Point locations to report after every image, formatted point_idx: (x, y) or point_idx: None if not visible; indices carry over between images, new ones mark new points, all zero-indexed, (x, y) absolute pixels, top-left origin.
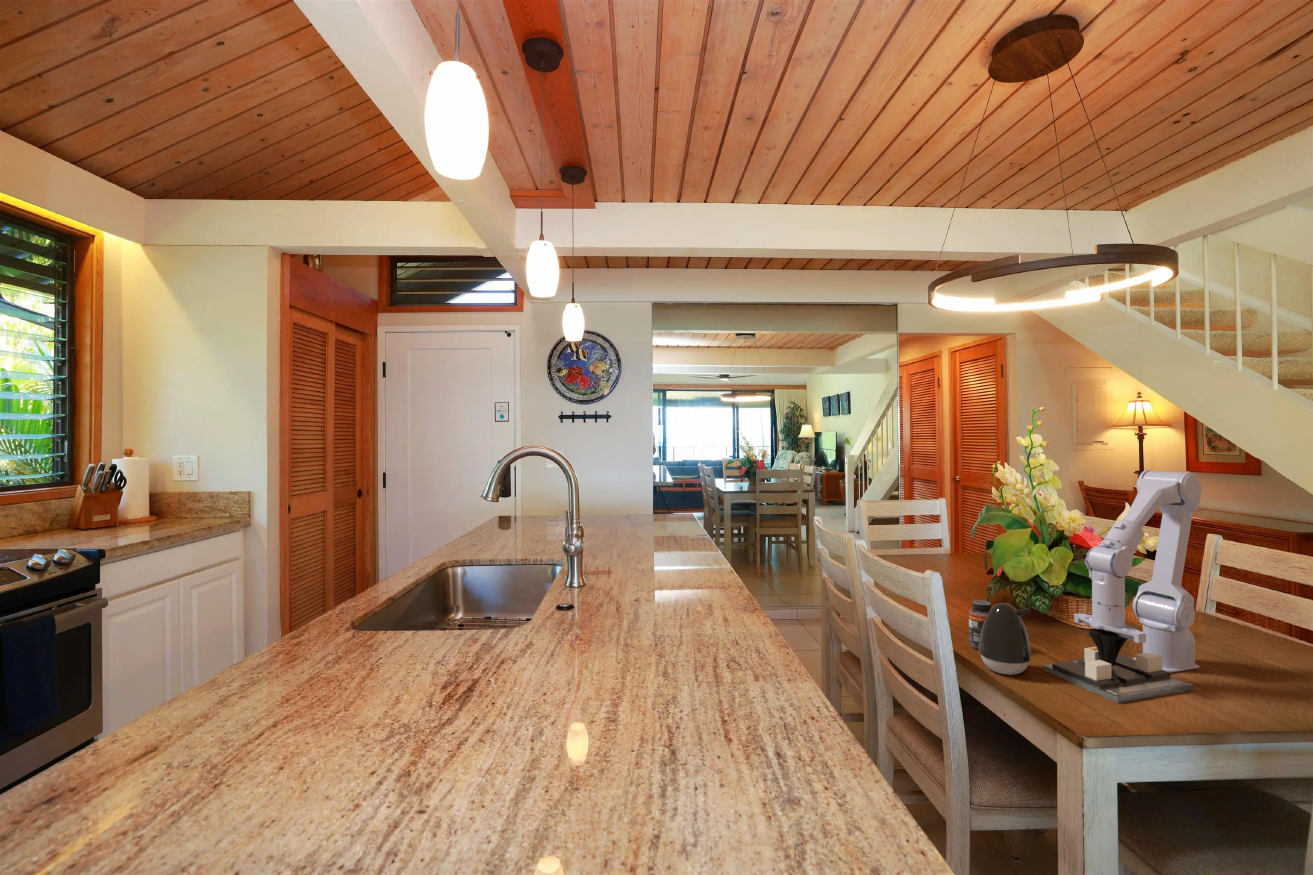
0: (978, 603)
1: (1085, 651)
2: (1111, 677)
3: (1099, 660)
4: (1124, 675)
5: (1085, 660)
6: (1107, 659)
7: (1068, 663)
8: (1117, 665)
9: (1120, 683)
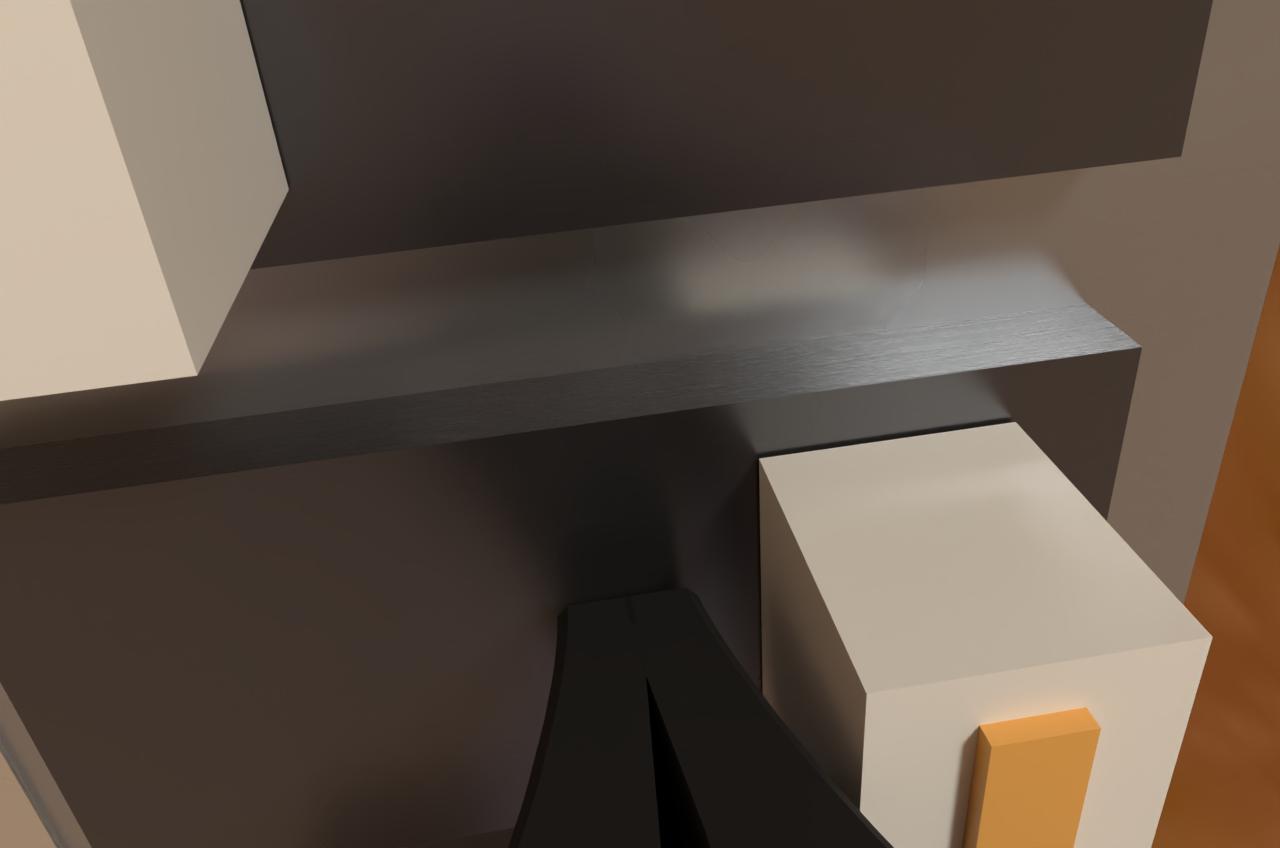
0: None
1: (1125, 581)
2: None
3: (106, 291)
4: (173, 631)
5: (1003, 440)
6: (548, 722)
7: None
8: None
9: None
